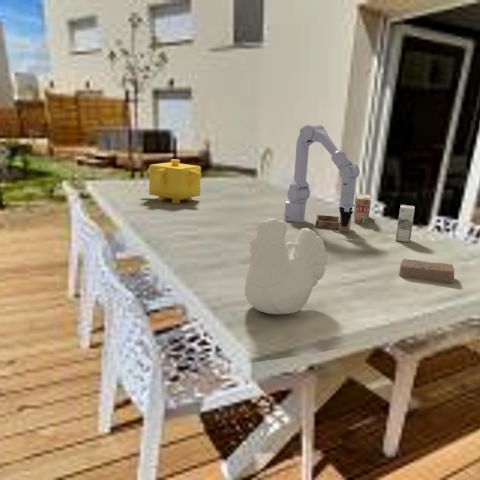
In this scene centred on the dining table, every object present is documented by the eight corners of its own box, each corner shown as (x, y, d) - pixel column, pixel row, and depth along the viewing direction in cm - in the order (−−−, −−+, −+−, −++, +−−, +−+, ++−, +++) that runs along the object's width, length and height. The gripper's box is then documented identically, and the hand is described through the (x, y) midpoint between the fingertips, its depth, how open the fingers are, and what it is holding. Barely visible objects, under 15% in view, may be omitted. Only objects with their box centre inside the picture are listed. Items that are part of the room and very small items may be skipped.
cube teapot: (217, 200, 274) (219, 160, 268) (182, 208, 250) (183, 165, 244) (167, 191, 292) (167, 154, 286) (130, 198, 267) (129, 157, 262)
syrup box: (410, 239, 213) (415, 205, 209) (409, 243, 207) (414, 208, 204) (396, 237, 215) (400, 204, 211) (395, 241, 209) (400, 206, 205)
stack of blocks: (353, 214, 255) (356, 190, 252) (366, 216, 254) (369, 191, 251) (354, 224, 235) (357, 198, 232) (368, 225, 234) (371, 199, 231)
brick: (398, 277, 166) (400, 263, 165) (399, 269, 174) (401, 256, 173) (453, 285, 162) (455, 271, 160) (451, 277, 169) (453, 263, 168)
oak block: (338, 229, 217) (340, 215, 215) (338, 227, 221) (340, 212, 220) (349, 230, 216) (351, 215, 215) (349, 228, 221) (350, 213, 219)
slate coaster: (331, 234, 215) (331, 232, 215) (331, 228, 225) (331, 227, 225) (356, 236, 214) (356, 235, 214) (354, 230, 223) (354, 229, 223)
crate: (315, 228, 224) (316, 220, 223) (316, 222, 236) (316, 214, 235) (338, 230, 222) (339, 222, 221) (338, 223, 234) (338, 216, 233)
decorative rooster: (255, 326, 125) (261, 227, 118) (233, 301, 139) (237, 212, 132) (343, 315, 134) (354, 223, 127) (314, 293, 148) (322, 209, 141)
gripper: (358, 197, 207) (354, 229, 211) (356, 191, 221) (352, 221, 225) (340, 196, 208) (337, 228, 212) (339, 190, 222) (336, 220, 226)
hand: (344, 224), depth 218 cm, fingers closed on oak block, 4 cm apart
